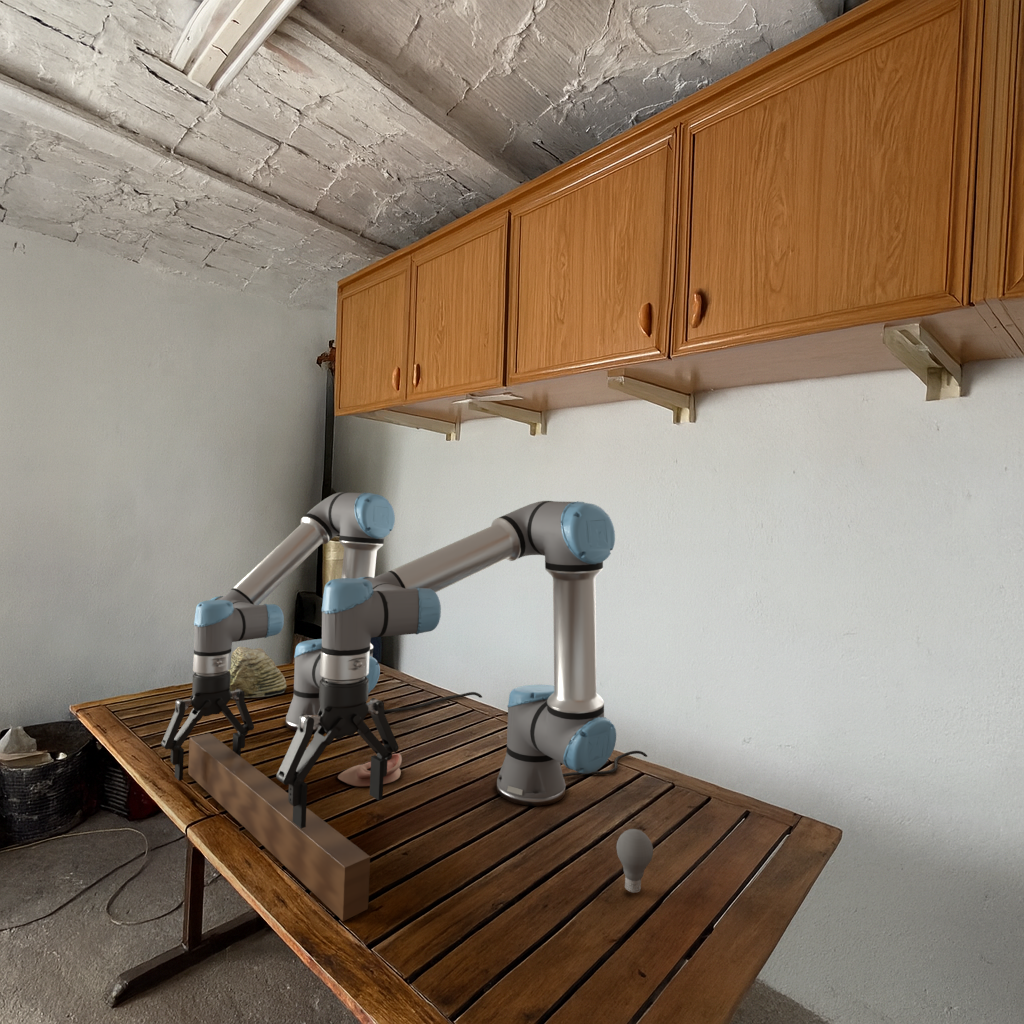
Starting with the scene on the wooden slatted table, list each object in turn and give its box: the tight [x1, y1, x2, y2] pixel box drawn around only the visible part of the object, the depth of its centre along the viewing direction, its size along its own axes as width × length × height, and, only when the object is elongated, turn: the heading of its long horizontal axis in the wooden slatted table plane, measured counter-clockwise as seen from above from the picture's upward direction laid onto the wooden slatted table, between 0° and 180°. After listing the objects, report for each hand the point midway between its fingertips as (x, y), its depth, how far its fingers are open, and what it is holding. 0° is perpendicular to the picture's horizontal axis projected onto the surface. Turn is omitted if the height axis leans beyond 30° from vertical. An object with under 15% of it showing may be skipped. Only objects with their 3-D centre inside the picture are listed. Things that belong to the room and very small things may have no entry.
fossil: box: [228, 646, 288, 699], centre depth 198 cm, size 9×18×15 cm, turn 132°
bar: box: [187, 732, 371, 922], centre depth 120 cm, size 66×4×8 cm, turn 45°
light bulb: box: [615, 828, 654, 894], centre depth 106 cm, size 6×6×10 cm
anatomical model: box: [337, 753, 403, 787], centre depth 144 cm, size 13×4×12 cm
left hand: (208, 770), depth 139 cm, fingers open, 11 cm apart
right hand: (339, 810), depth 101 cm, fingers open, 13 cm apart
